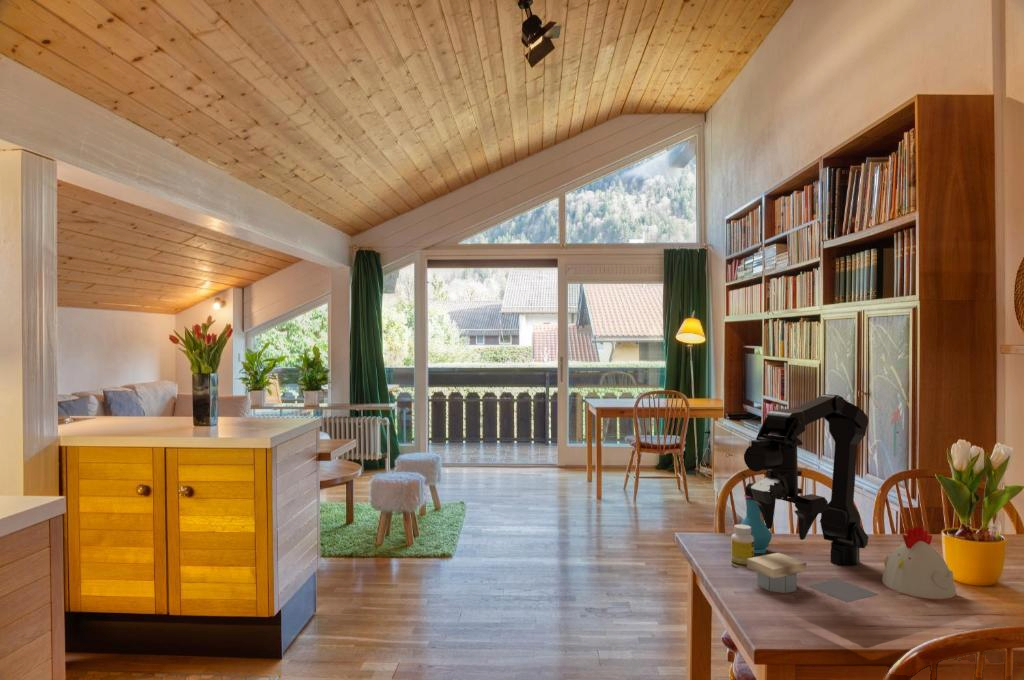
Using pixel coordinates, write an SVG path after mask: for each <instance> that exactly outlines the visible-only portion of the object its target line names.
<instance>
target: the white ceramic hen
mask: <svg viewBox="0 0 1024 680" xmlns="http://www.w3.org/2000/svg"><path fill="white" fill-rule="evenodd" d="M906 533H907V534H902V538H903V541H904V542H903V543H901V544H900V545H899V546H897V548H895V550H893V552H892V553H891V554H887V555H886V556H885V558H884V569H883V573H882V579H881V581H882V584H883V585H884V586H885V587H887V588H888V589H889V590H892V591H894V592H897V593H900V594H903V595H906V596H910V597H915V598H920V599H926V600H939V601H940V600H941V601H942V600H949V599H952V598H955V597H956V596H957V590H956V586H955V582H954V571H953V570H950V568H949V566H948V564H947V563H946V561H945V560H944V558H943V556H942V555H941V553H939V552H938V551H937V550H936V549H935V547H933V546H932V545H931V543H932V538H933V535H932V534H928V533H929V532H928V530H924V527H923V526H920V525H918V526H913V528H909V527H908V528H907V530H906Z"/></svg>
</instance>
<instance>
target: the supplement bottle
mask: <svg viewBox="0 0 1024 680" xmlns="http://www.w3.org/2000/svg"><path fill="white" fill-rule="evenodd" d="M733 530H734V533H732V534H731V538H730V539H731V540H730V541H731V542H730V543H731V544H730V545H731V546H730V551H731V552H730V555H731V556H730V557H731V558H730V563H731V565H732V566H733V567H734V568H737V567H738V569H740V568H745V567H747V559H748V558H753V557H755V554H754V538H753V536H751V535H750V534H751V527H750V526H748V525H742V524H741V523H740V524H734V528H733Z"/></svg>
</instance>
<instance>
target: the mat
mask: <svg viewBox="0 0 1024 680" xmlns="http://www.w3.org/2000/svg"><path fill="white" fill-rule="evenodd" d="M806 587H809V588H811V589H813V590H816V591H819V592H821V593H823V594H826V595H828V596H831V597H833V598H836V599H838V600H840V601H843V602H845V603H850V602H853V601H857V600H861V599H865V598H870V597H874V596H879V593H876V592H874V591H871V590H868V589H865V588H863V587H860V586H858V585H856V584H852V583H850V582H848V581H845V580H842V579H839V578H834V579H829V580H826V581H822V582H821V581H820V582H817V583H812V584H808V585H806Z"/></svg>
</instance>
